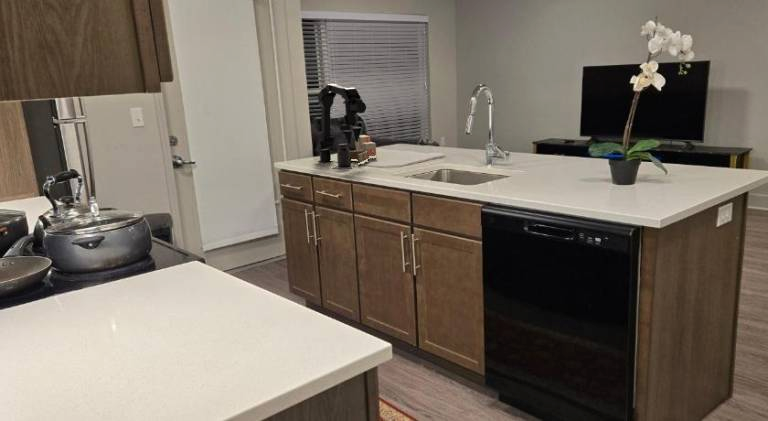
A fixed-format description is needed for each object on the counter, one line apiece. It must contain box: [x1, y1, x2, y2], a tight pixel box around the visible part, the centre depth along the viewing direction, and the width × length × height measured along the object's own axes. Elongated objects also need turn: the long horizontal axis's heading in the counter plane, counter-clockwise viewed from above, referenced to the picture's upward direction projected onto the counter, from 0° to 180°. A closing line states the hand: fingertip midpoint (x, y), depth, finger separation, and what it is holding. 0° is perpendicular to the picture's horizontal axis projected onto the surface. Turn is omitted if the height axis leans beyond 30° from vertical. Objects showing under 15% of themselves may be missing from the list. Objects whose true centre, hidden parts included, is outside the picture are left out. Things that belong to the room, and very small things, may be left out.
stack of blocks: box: [354, 134, 377, 156], centre depth 337 cm, size 21×6×12 cm, turn 19°
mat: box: [332, 164, 356, 170], centre depth 306 cm, size 10×10×1 cm
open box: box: [336, 150, 369, 164], centre depth 316 cm, size 14×13×6 cm
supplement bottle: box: [336, 143, 352, 168], centre depth 305 cm, size 7×7×12 cm
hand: (353, 142), depth 301 cm, fingers open, 9 cm apart
